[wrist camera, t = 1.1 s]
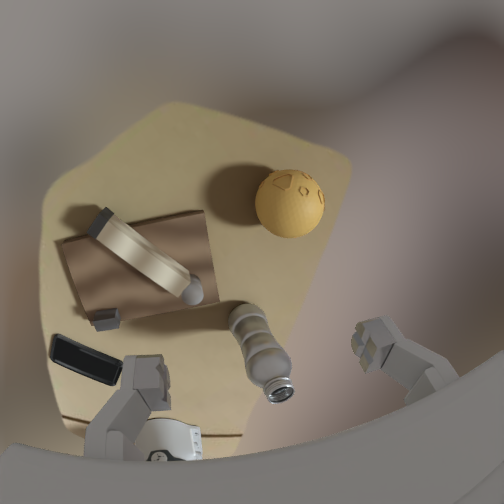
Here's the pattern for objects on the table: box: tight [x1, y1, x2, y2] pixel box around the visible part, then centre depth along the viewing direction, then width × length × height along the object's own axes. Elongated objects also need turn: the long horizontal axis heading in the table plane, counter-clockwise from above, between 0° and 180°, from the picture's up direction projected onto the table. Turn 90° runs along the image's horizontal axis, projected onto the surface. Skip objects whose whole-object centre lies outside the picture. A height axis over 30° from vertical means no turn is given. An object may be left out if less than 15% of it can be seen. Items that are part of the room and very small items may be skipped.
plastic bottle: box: [228, 304, 295, 404], centre depth 42 cm, size 6×7×20 cm
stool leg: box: [87, 207, 204, 305], centre depth 39 cm, size 19×3×4 cm, turn 46°
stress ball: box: [255, 170, 325, 238], centre depth 40 cm, size 10×10×10 cm
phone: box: [50, 334, 123, 386], centre depth 46 cm, size 8×1×15 cm
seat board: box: [61, 210, 220, 332], centre depth 41 cm, size 15×23×5 cm, turn 96°
